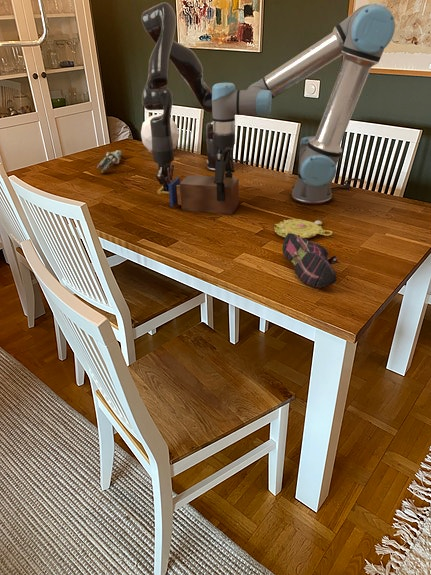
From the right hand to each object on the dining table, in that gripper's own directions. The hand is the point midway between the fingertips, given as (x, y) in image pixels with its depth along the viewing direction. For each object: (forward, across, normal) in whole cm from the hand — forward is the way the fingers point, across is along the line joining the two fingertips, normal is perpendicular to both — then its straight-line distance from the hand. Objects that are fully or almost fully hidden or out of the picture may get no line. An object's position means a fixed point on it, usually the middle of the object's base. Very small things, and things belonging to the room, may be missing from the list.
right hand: (224, 195), depth 162 cm
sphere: (+5, -65, -52) cm, 83 cm away
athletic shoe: (+5, +39, +36) cm, 54 cm away
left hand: (+1, 0, -23) cm, 23 cm away
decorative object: (+5, +14, +30) cm, 34 cm away
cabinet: (+5, 0, -6) cm, 8 cm away
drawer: (+4, 0, -14) cm, 14 cm away
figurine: (+5, -40, -68) cm, 79 cm away
